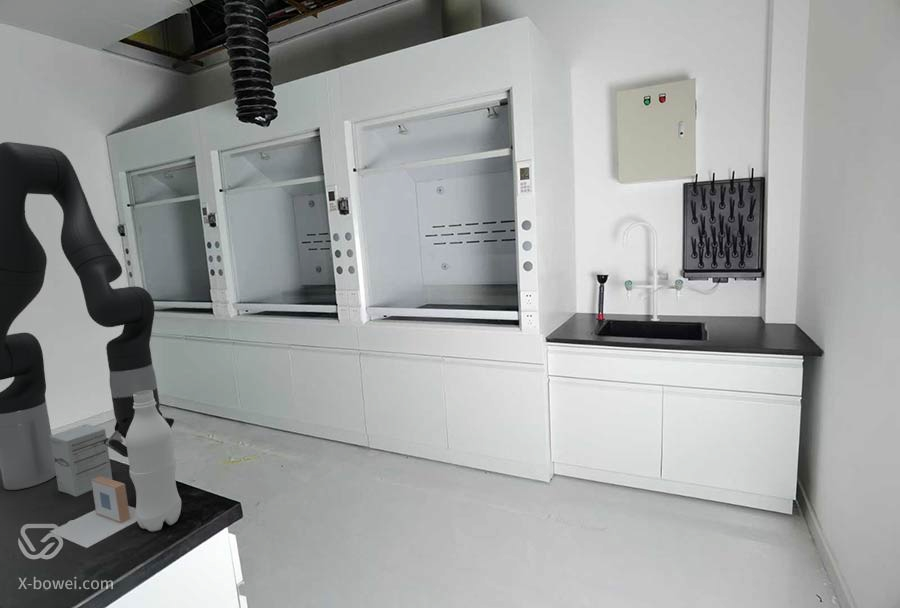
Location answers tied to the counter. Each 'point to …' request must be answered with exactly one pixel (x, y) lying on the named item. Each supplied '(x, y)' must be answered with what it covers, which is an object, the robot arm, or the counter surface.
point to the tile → (110, 499)
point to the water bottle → (152, 465)
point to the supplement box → (80, 458)
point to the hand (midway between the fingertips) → (146, 472)
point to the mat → (92, 528)
